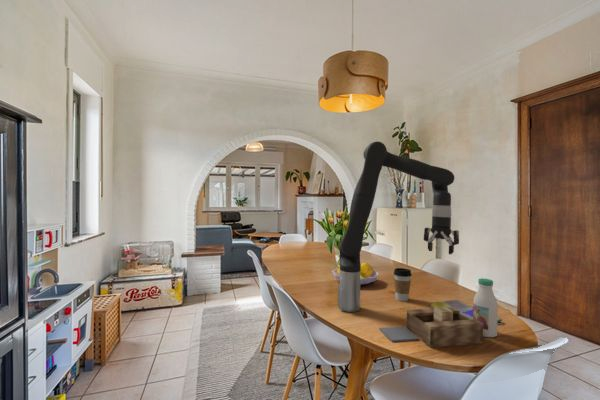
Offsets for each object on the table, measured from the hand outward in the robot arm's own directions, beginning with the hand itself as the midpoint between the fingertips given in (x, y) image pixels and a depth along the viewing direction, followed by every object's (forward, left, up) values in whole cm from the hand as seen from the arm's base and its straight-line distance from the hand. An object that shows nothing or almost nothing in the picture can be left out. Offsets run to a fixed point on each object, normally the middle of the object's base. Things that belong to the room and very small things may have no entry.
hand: (440, 252), depth 131 cm
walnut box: (-13, -21, -26) cm, 36 cm away
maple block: (-13, -21, -24) cm, 34 cm away
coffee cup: (-8, +17, -27) cm, 33 cm away
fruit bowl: (-20, +50, -27) cm, 60 cm away
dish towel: (+9, -4, -27) cm, 29 cm away
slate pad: (-29, -18, -26) cm, 43 cm away
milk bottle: (+4, -21, -27) cm, 34 cm away
